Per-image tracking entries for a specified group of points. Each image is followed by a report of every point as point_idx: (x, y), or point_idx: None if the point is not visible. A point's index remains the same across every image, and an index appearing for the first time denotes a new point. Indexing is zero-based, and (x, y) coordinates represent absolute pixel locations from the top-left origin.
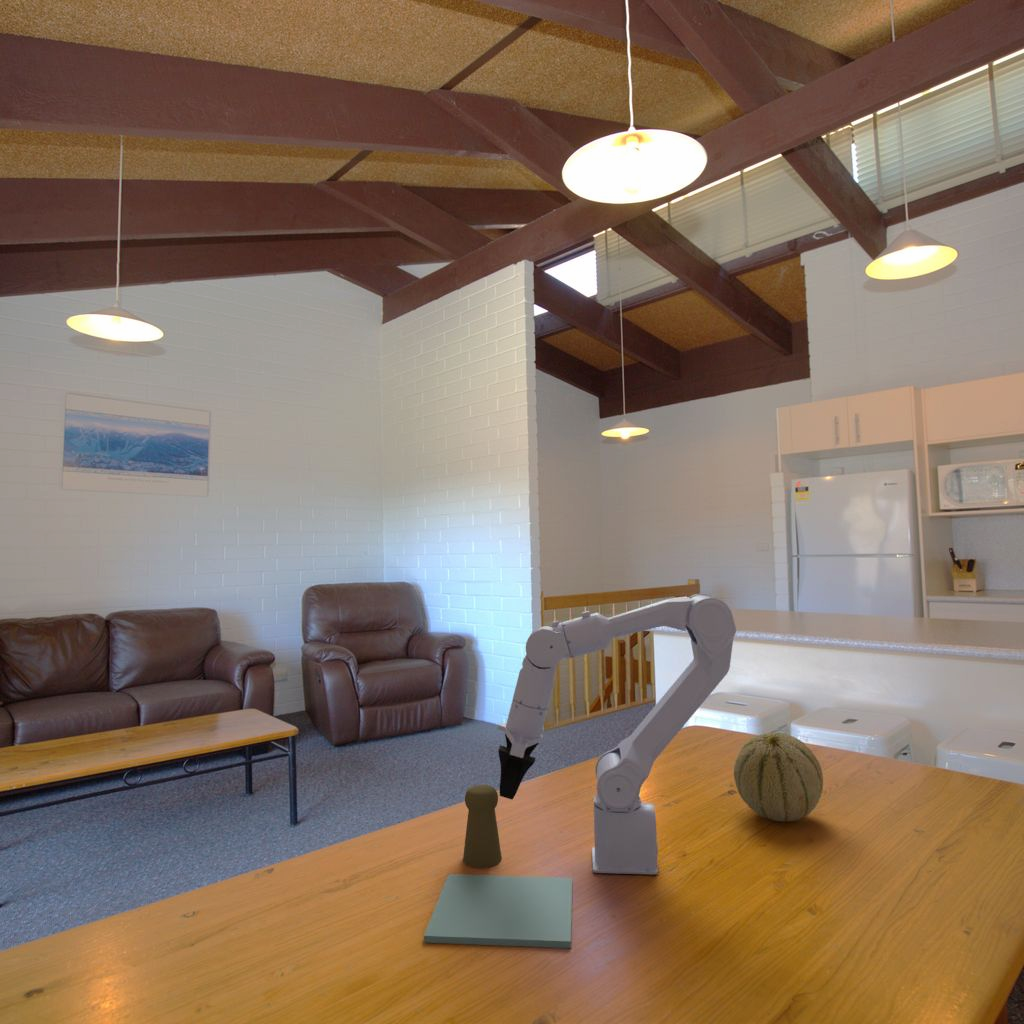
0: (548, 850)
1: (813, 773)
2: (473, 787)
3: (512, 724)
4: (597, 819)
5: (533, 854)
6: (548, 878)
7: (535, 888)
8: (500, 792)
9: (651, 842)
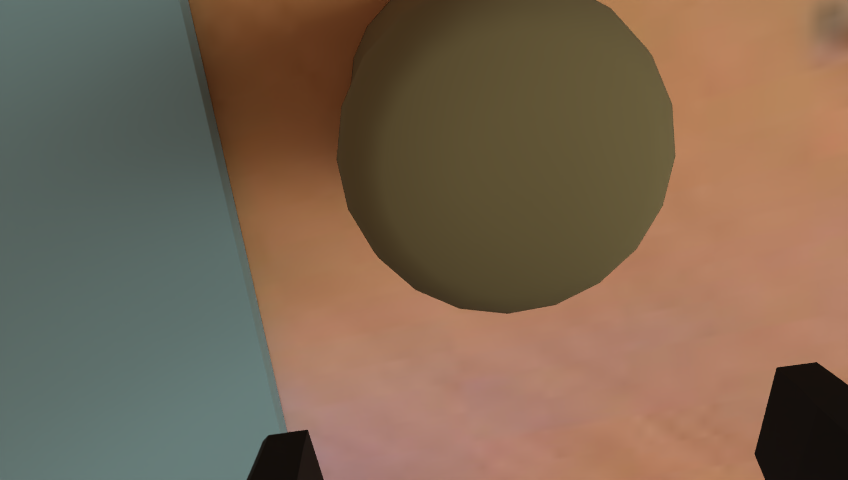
0: (597, 375)
1: None
2: (509, 82)
3: None
4: None
5: (546, 321)
6: None
7: (168, 415)
8: (252, 466)
9: None
